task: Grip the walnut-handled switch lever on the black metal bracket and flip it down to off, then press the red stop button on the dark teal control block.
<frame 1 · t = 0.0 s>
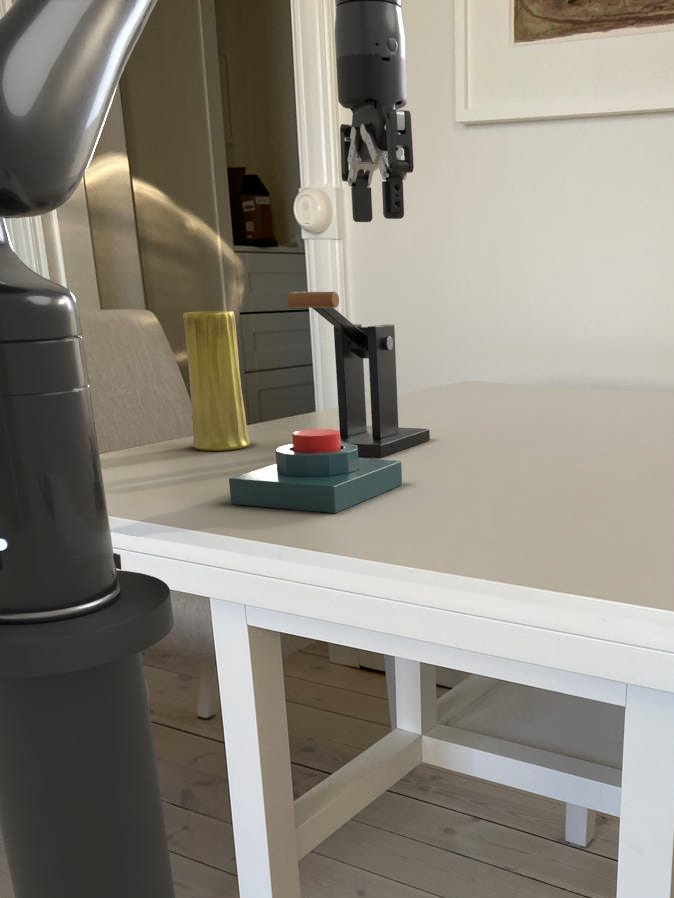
hand: (377, 220, 113), 24 cm above the table, tool pointing down, fingers open, 8 cm apart
bracket: (370, 446, 110), on the table
control block: (320, 494, 86), on the table
vase: (222, 448, 111), on the table
button: (316, 442, 85), point 4 cm above the table, slide at 0.1 cm
lever: (342, 323, 101), point 13 cm above the table, hinge at 25.0°
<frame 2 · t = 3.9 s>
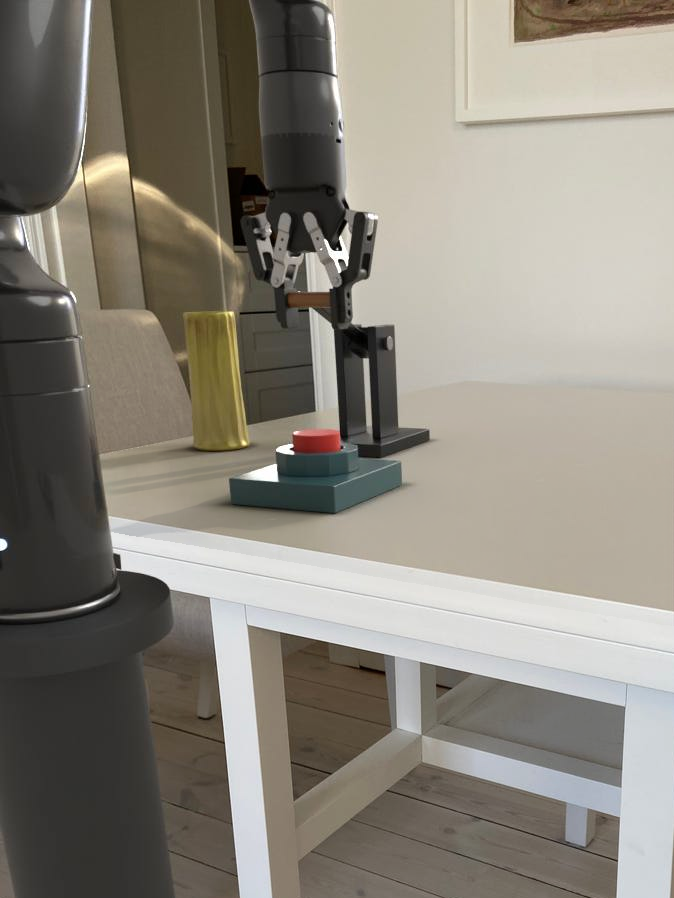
hand: (315, 327, 97), 13 cm above the table, tool pointing down, fingers closed on lever, 5 cm apart
lever: (342, 323, 101), point 13 cm above the table, hinge at 25.0°, touching gripper
everything else where it was.
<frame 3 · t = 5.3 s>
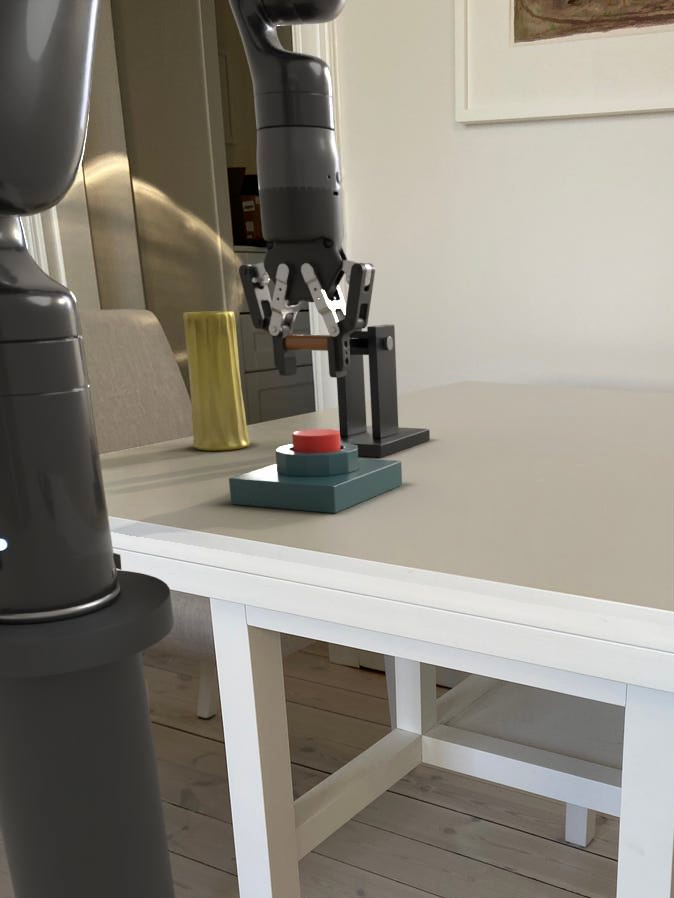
hand: (313, 375, 98), 9 cm above the table, tool pointing down, fingers closed on lever, 5 cm apart
lever: (340, 342, 102), point 11 cm above the table, hinge at 3.8°, touching gripper
everything else where it was.
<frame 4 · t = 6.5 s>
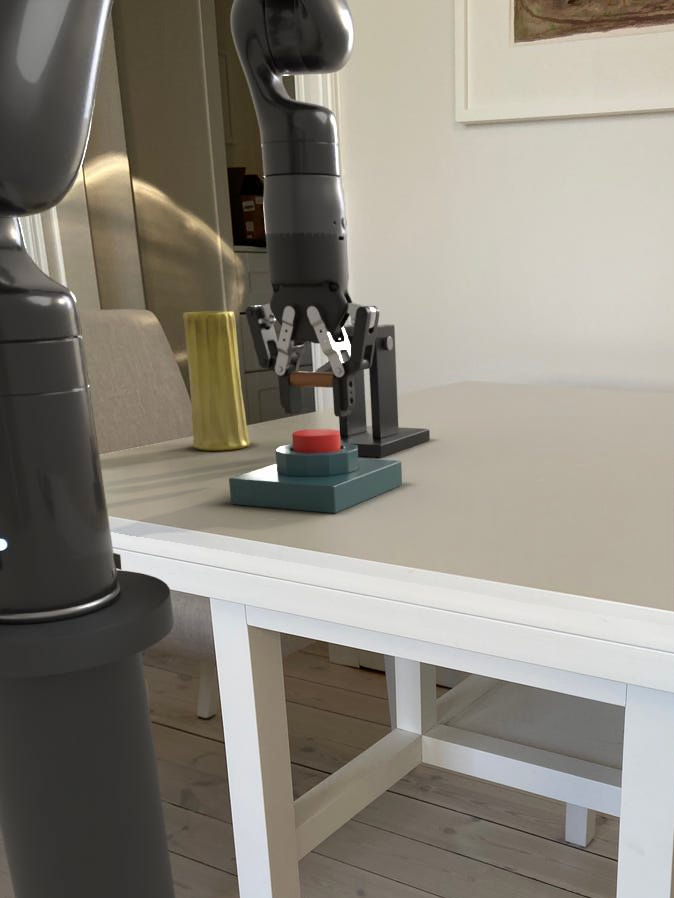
hand: (318, 413, 99), 5 cm above the table, tool pointing down, fingers closed on lever, 5 cm apart
lever: (342, 359, 102), point 10 cm above the table, hinge at -14.6°, touching gripper
everything else where it was.
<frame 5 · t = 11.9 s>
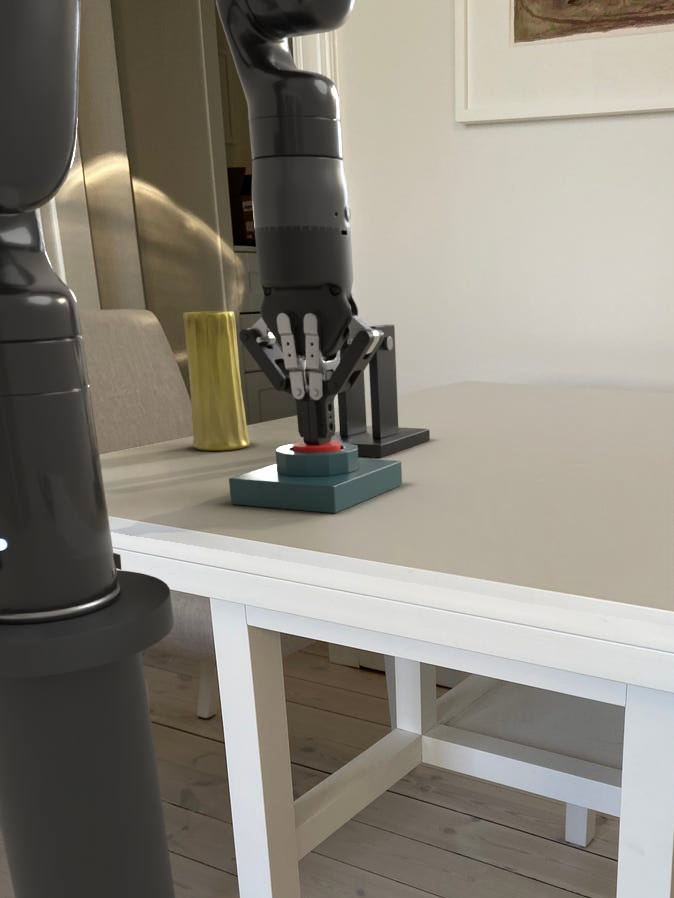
hand: (318, 443, 85), 4 cm above the table, tool pointing down, fingers closed
button: (317, 453, 85), point 4 cm above the table, slide at -0.9 cm, touching gripper
lever: (342, 359, 102), point 10 cm above the table, hinge at -15.0°
everything else where it was.
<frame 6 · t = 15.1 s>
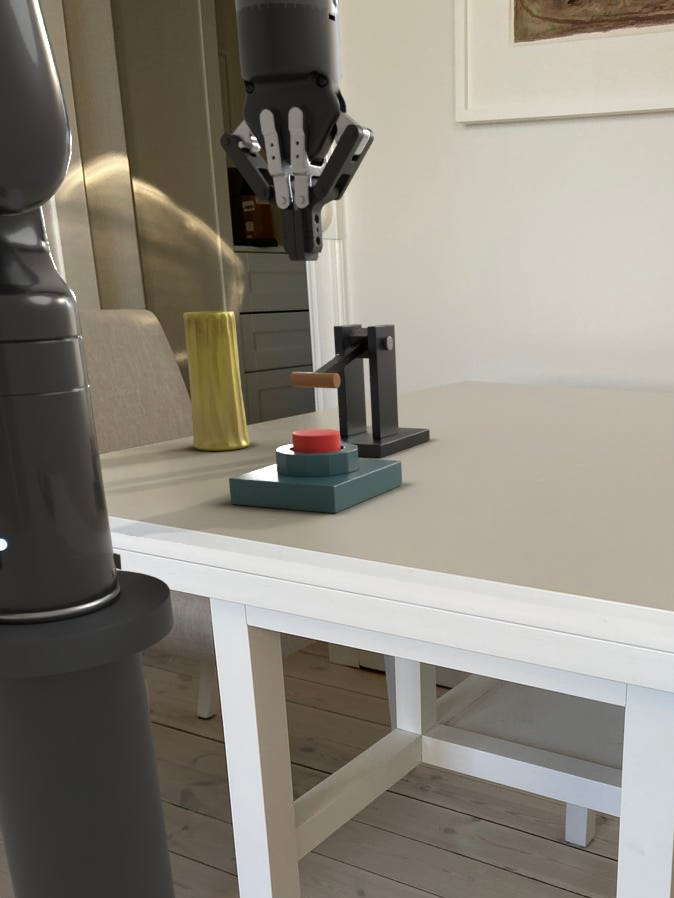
hand: (304, 260, 80), 19 cm above the table, tool pointing down, fingers closed
button: (316, 442, 85), point 4 cm above the table, slide at 0.1 cm
everything else where it was.
at the end: lever at -15° (first picture: +25°); button pushed in 1.2 cm at the most during the clip, back to where it started at the end; button slide at 0.1 cm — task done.
